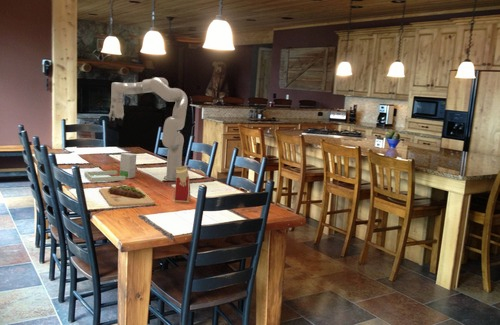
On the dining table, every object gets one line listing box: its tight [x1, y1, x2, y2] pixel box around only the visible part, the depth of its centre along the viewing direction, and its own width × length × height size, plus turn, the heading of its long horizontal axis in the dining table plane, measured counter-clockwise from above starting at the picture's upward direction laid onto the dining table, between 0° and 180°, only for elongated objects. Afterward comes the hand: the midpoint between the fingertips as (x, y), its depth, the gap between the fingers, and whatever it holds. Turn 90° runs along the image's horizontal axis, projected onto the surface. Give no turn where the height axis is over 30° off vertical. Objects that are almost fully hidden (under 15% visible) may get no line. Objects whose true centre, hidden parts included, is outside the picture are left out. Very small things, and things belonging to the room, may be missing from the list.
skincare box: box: [119, 152, 137, 179], centre depth 303 cm, size 8×7×16 cm
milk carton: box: [172, 165, 191, 203], centre depth 257 cm, size 9×9×20 cm
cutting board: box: [98, 181, 155, 208], centre depth 255 cm, size 35×23×8 cm
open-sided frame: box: [84, 170, 126, 183], centre depth 296 cm, size 18×21×2 cm
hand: (116, 125), depth 316 cm, fingers open, 9 cm apart
